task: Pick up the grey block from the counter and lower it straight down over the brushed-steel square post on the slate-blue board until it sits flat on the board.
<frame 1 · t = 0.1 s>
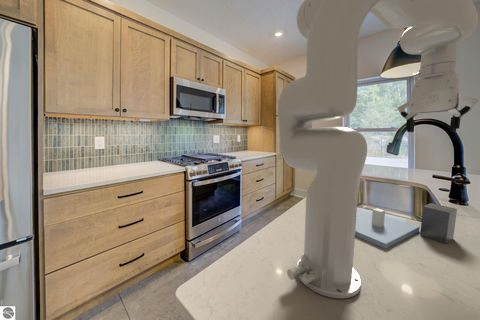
hand: (430, 131, 61), 31 cm above the countertop, tool pointing down, fingers open, 9 cm apart
post board: (377, 229, 63), on the countertop
grey block: (436, 236, 59), on the countertop
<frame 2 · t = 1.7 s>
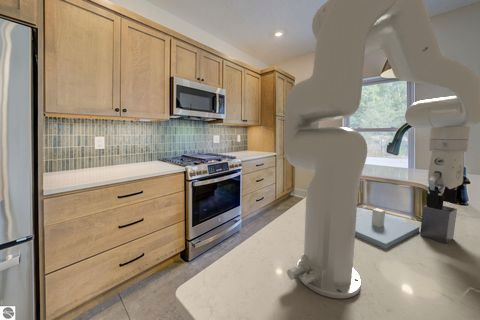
hand: (441, 204, 58), 10 cm above the countertop, tool pointing down, fingers open, 9 cm apart
nothing on the countertop moved.
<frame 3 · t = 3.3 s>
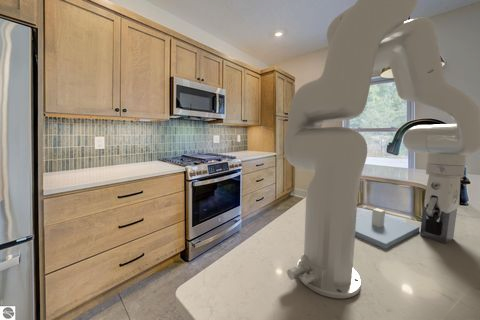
hand: (437, 230, 58), 2 cm above the countertop, tool pointing down, fingers closed on grey block, 5 cm apart
grey block: (436, 236, 59), on the countertop, touching gripper
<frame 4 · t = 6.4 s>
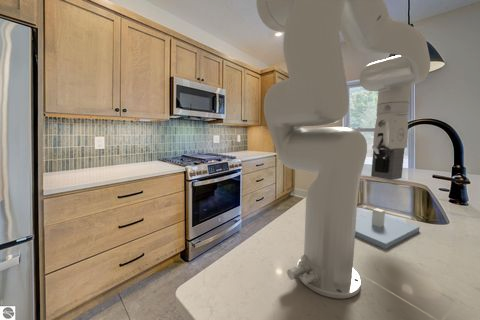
hand: (386, 170, 60), 19 cm above the countertop, tool pointing down, fingers closed on grey block, 5 cm apart
grey block: (386, 177, 61), point 17 cm above the countertop, touching gripper
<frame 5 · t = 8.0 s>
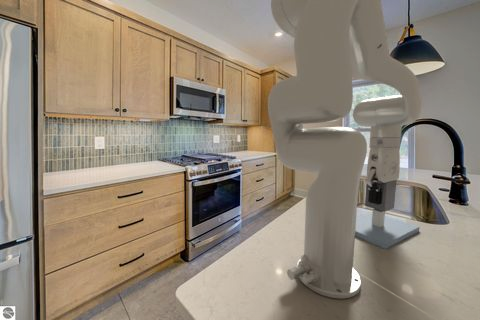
hand: (379, 200, 62), 9 cm above the countertop, tool pointing down, fingers closed on grey block, 5 cm apart
grey block: (379, 207, 63), point 7 cm above the countertop, touching gripper
when the fingers open (5 cm above the countertop, at t = 9.4 s): grey block drops 1 cm, resting on post board.
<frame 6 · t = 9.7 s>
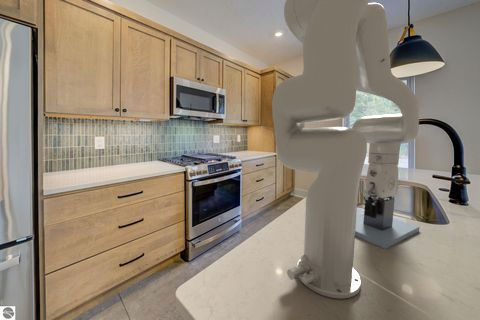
hand: (378, 213, 63), 5 cm above the countertop, tool pointing down, fingers open, 9 cm apart
grey block: (377, 225, 63), point 1 cm above the countertop, touching post board
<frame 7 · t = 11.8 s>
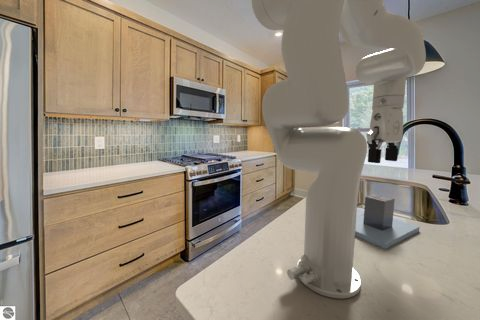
hand: (382, 161, 61), 22 cm above the countertop, tool pointing down, fingers open, 9 cm apart
nothing on the countertop moved.
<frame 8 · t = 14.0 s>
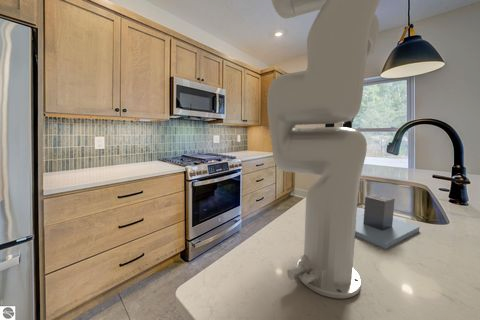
hand: (338, 134, 71), 30 cm above the countertop, tool pointing down, fingers open, 9 cm apart
nothing on the countertop moved.
at the end: grey block 0.1 cm off-centre on the post board, point 1.5 cm above the post board's base; grey block tilted 0°; the gripper is holding nothing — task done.
